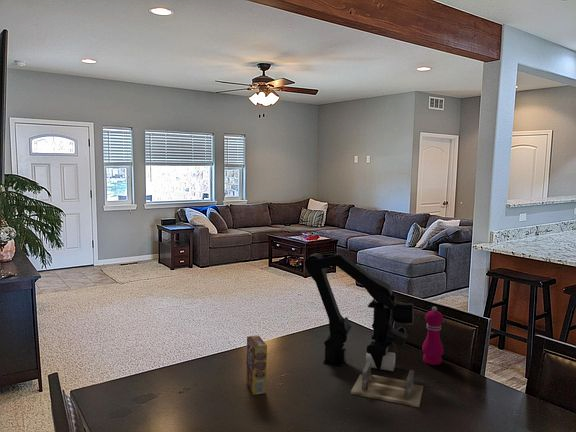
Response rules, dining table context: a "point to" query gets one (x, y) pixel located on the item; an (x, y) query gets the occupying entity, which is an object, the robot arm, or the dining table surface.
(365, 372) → the roll holder
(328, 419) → the dining table surface
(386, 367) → the roll
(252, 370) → the candy box
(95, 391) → the dining table surface
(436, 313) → the pepper mill
